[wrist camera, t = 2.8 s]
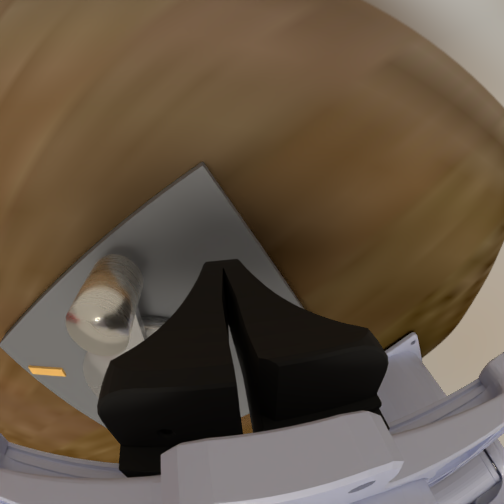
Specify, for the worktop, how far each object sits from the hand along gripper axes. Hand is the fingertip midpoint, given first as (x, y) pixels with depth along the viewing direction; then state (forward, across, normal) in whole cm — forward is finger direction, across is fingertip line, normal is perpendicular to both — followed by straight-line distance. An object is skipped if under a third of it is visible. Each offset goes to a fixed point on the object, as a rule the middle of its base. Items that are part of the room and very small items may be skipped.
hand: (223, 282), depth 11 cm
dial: (+2, +5, +5) cm, 7 cm away
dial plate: (+4, +5, +8) cm, 10 cm away
